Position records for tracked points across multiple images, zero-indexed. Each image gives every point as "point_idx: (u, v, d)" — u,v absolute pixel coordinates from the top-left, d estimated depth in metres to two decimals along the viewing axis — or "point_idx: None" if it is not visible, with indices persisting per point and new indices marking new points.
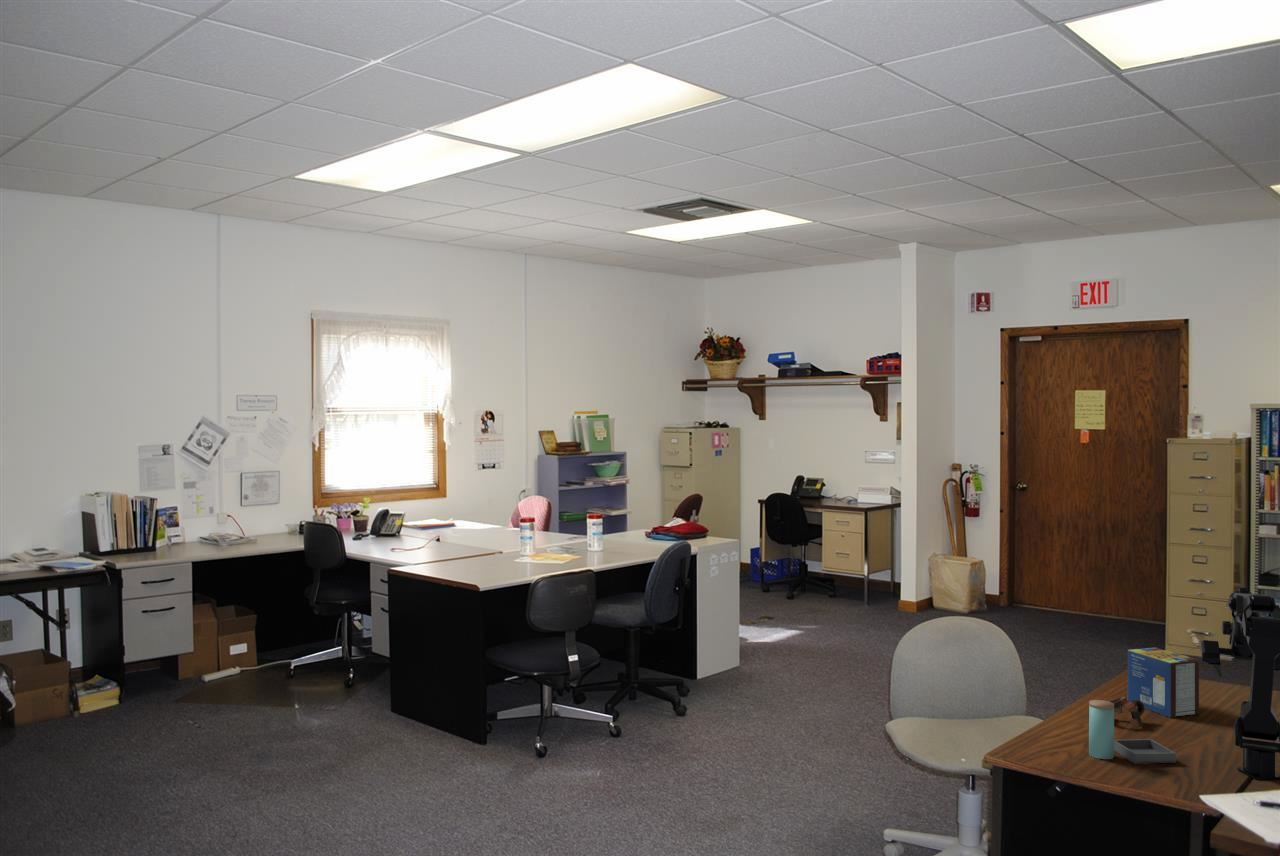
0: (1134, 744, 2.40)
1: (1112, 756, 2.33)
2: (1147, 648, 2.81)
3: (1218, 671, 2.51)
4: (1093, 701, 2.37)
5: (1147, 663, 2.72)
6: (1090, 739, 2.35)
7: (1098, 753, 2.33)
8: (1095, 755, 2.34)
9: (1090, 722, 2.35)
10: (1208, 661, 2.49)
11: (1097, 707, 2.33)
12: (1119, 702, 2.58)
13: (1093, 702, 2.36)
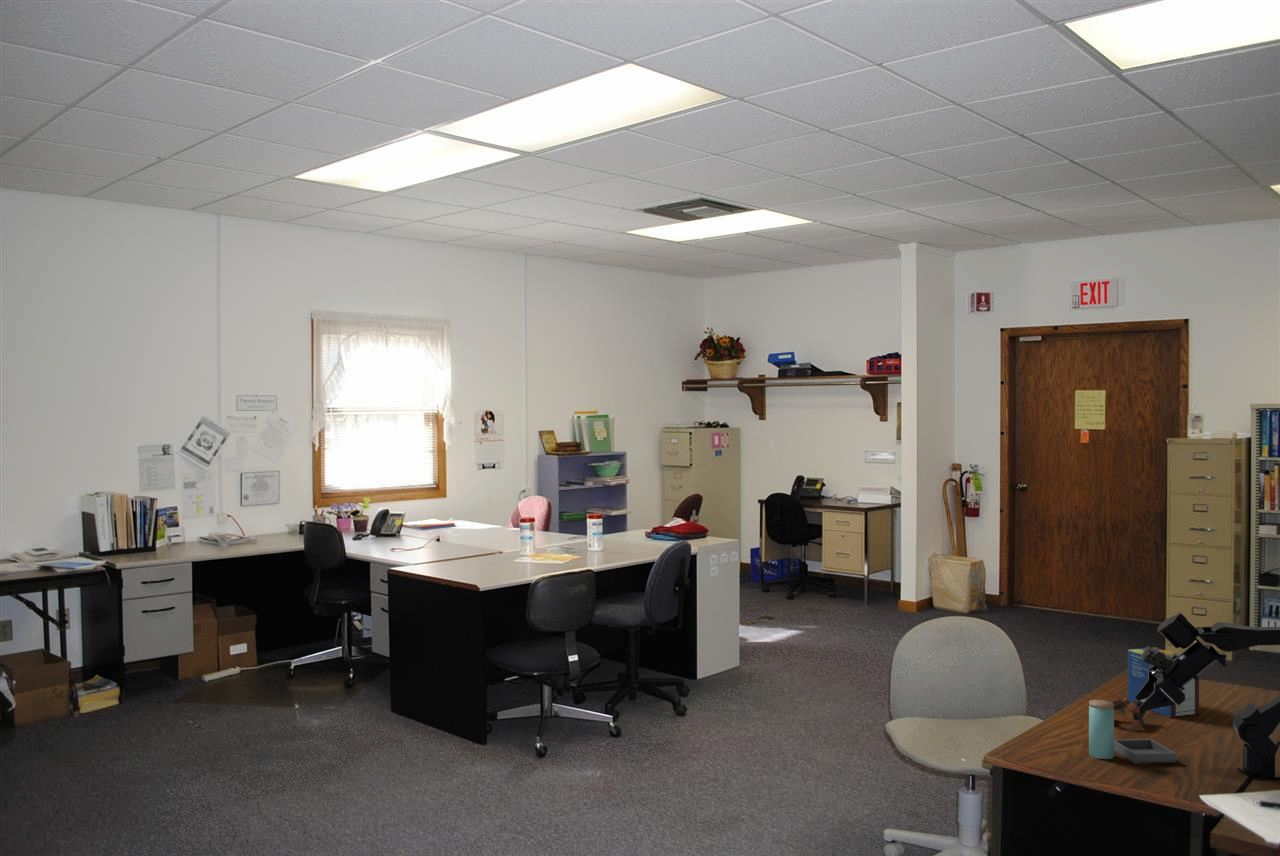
0: (1134, 744, 2.40)
1: (1112, 756, 2.33)
2: None
3: None
4: (1093, 701, 2.37)
5: (1147, 663, 2.72)
6: (1090, 739, 2.35)
7: (1098, 752, 2.33)
8: (1095, 755, 2.34)
9: (1090, 722, 2.35)
10: None
11: (1097, 707, 2.33)
12: (1121, 703, 2.57)
13: (1093, 702, 2.36)
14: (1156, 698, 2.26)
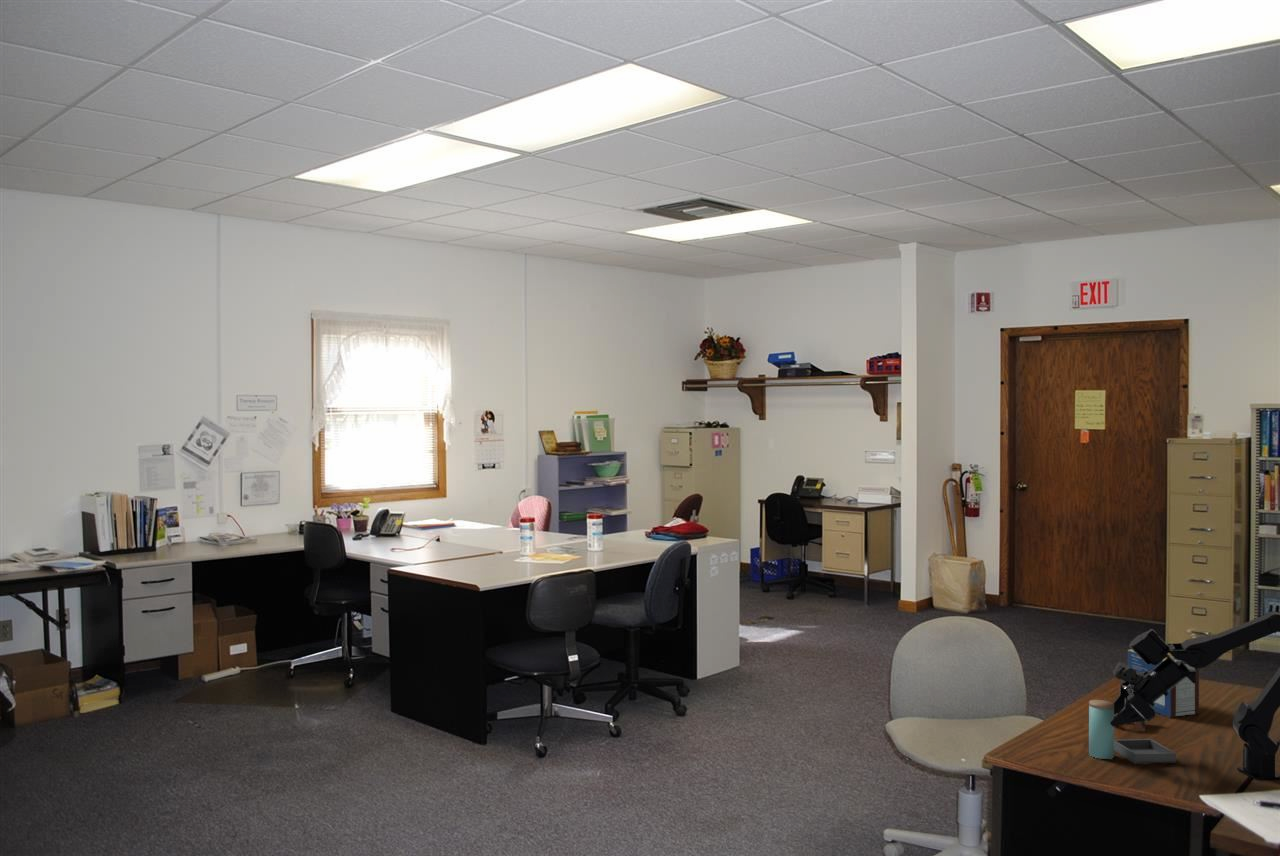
0: (1134, 744, 2.40)
1: (1112, 756, 2.33)
2: None
3: None
4: (1093, 701, 2.37)
5: None
6: (1090, 739, 2.35)
7: (1098, 752, 2.33)
8: (1095, 755, 2.34)
9: (1090, 722, 2.35)
10: None
11: (1097, 707, 2.34)
12: None
13: (1093, 702, 2.36)
14: (1127, 713, 2.28)
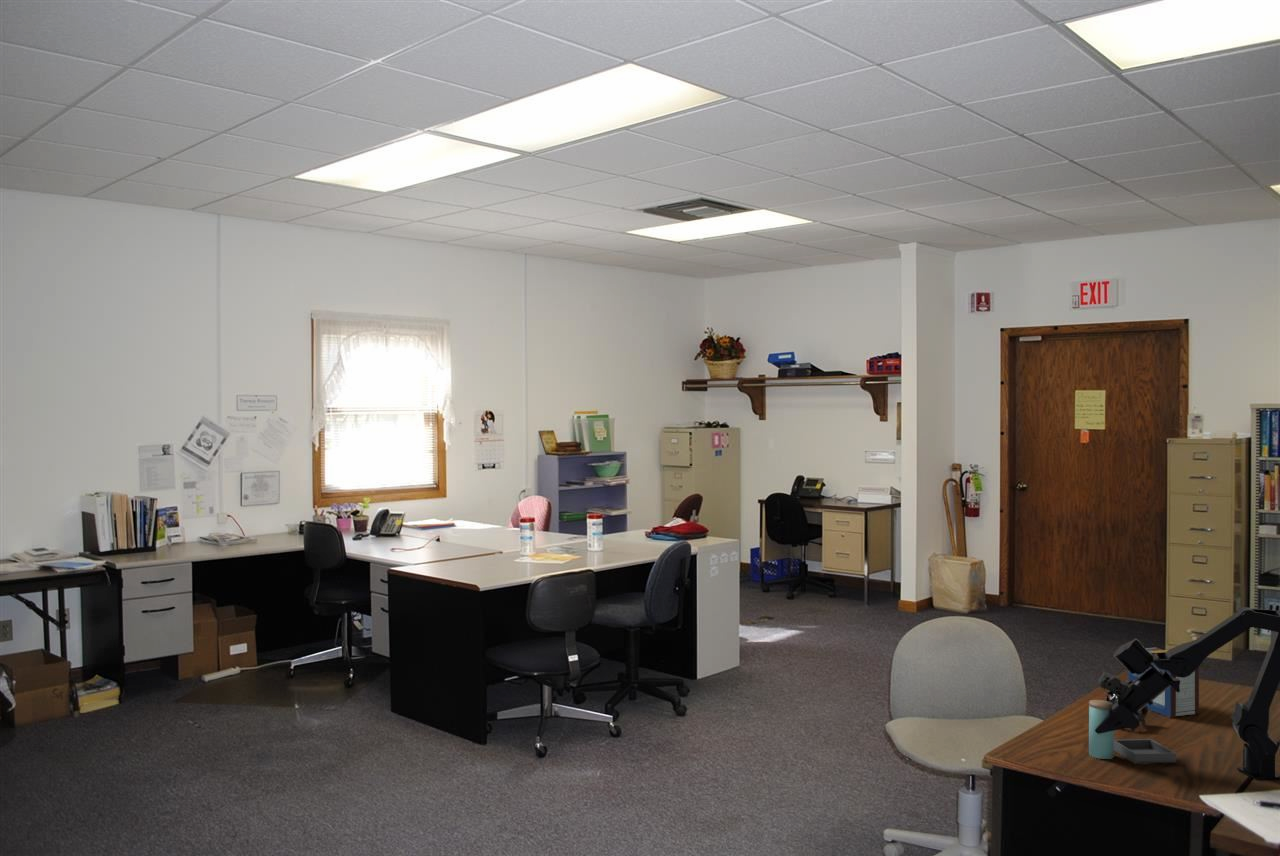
0: (1134, 744, 2.40)
1: (1112, 756, 2.33)
2: (1147, 648, 2.81)
3: None
4: (1093, 701, 2.37)
5: None
6: (1090, 739, 2.35)
7: (1098, 752, 2.33)
8: (1095, 755, 2.34)
9: (1090, 722, 2.35)
10: None
11: (1097, 707, 2.33)
12: None
13: (1093, 702, 2.36)
14: (1111, 721, 2.31)
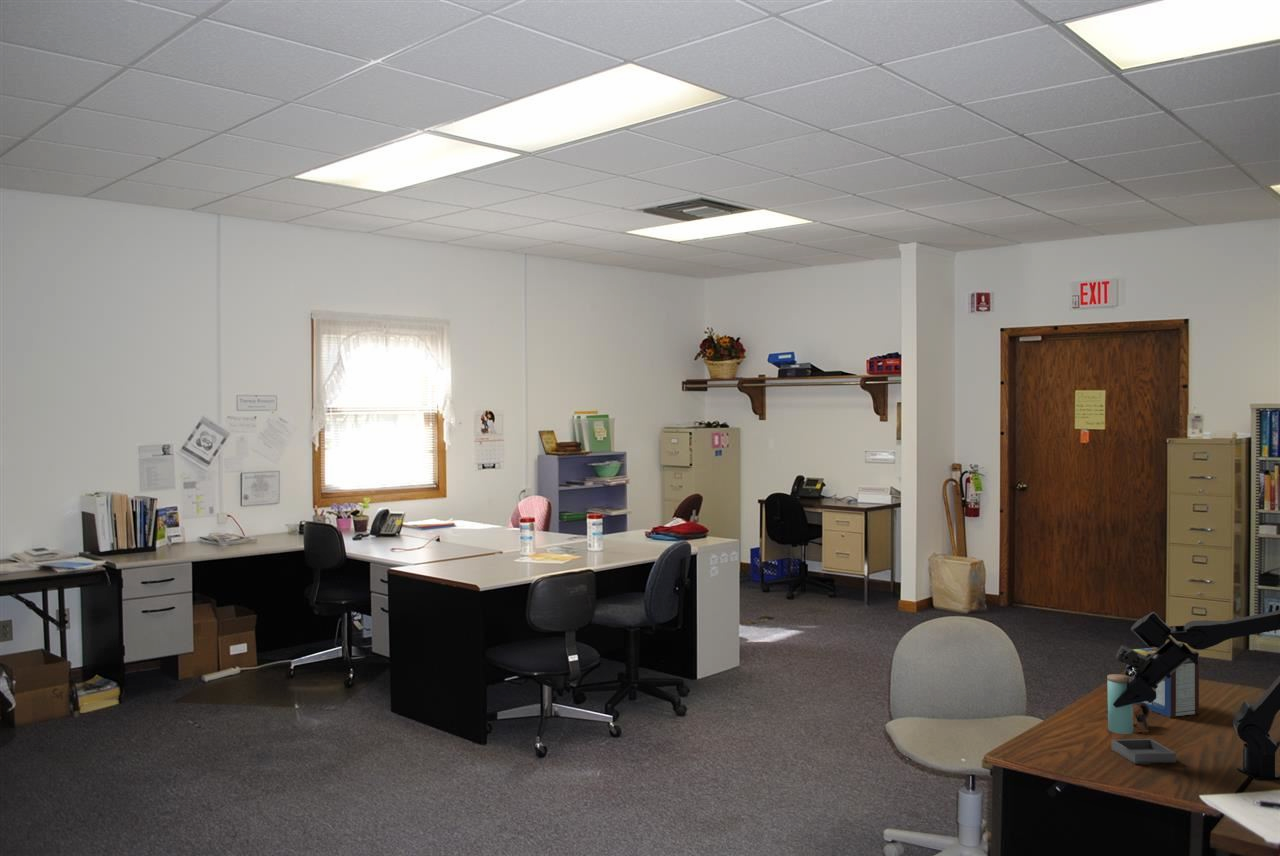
0: (1134, 744, 2.40)
1: (1131, 730, 2.33)
2: (1147, 648, 2.81)
3: None
4: (1111, 675, 2.37)
5: None
6: (1109, 713, 2.35)
7: (1116, 726, 2.33)
8: (1114, 729, 2.34)
9: (1108, 696, 2.35)
10: None
11: (1114, 681, 2.33)
12: None
13: (1111, 676, 2.36)
14: (1129, 694, 2.31)
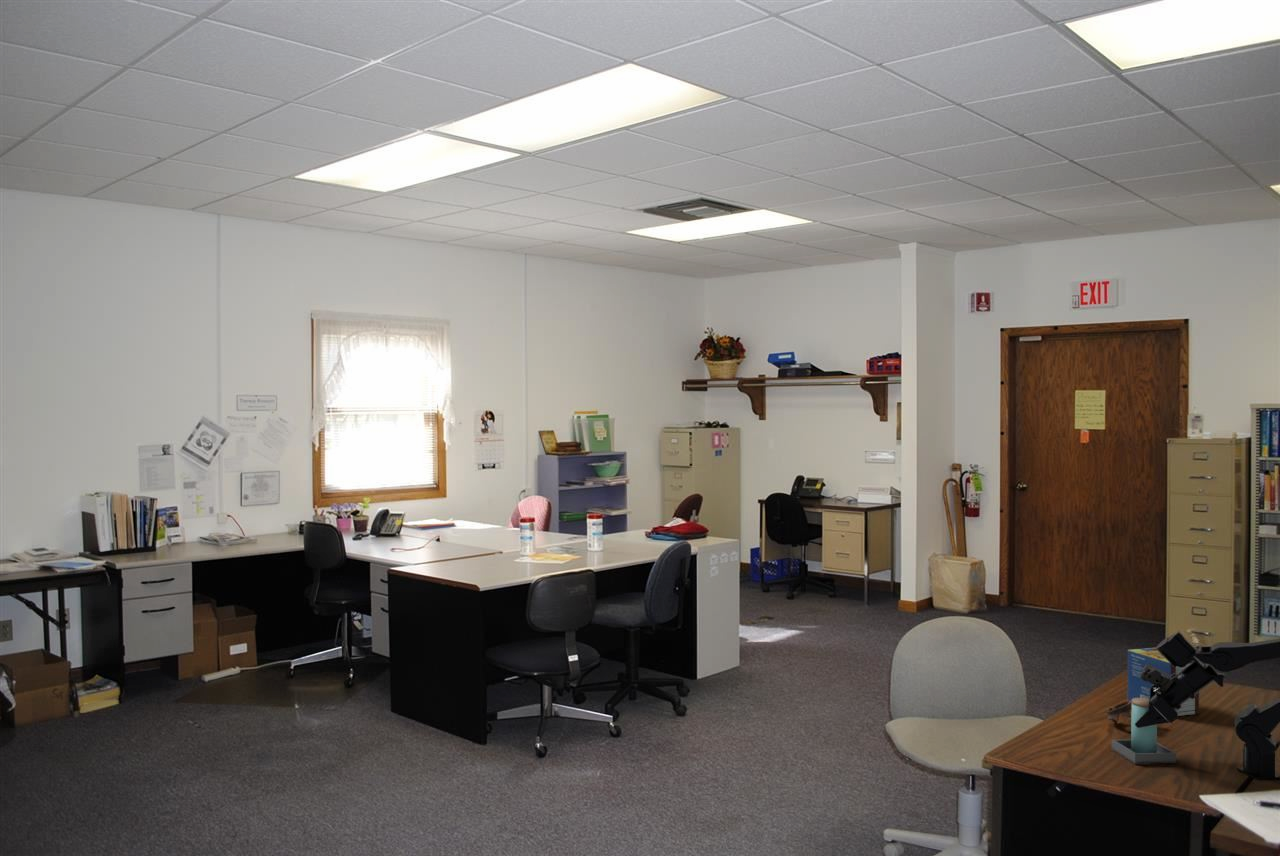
0: None
1: None
2: (1147, 648, 2.81)
3: None
4: (1136, 699, 2.36)
5: (1147, 663, 2.72)
6: (1132, 736, 2.35)
7: (1139, 750, 2.33)
8: None
9: (1132, 720, 2.35)
10: None
11: (1138, 705, 2.33)
12: (1127, 706, 2.55)
13: (1135, 700, 2.36)
14: (1151, 715, 2.29)
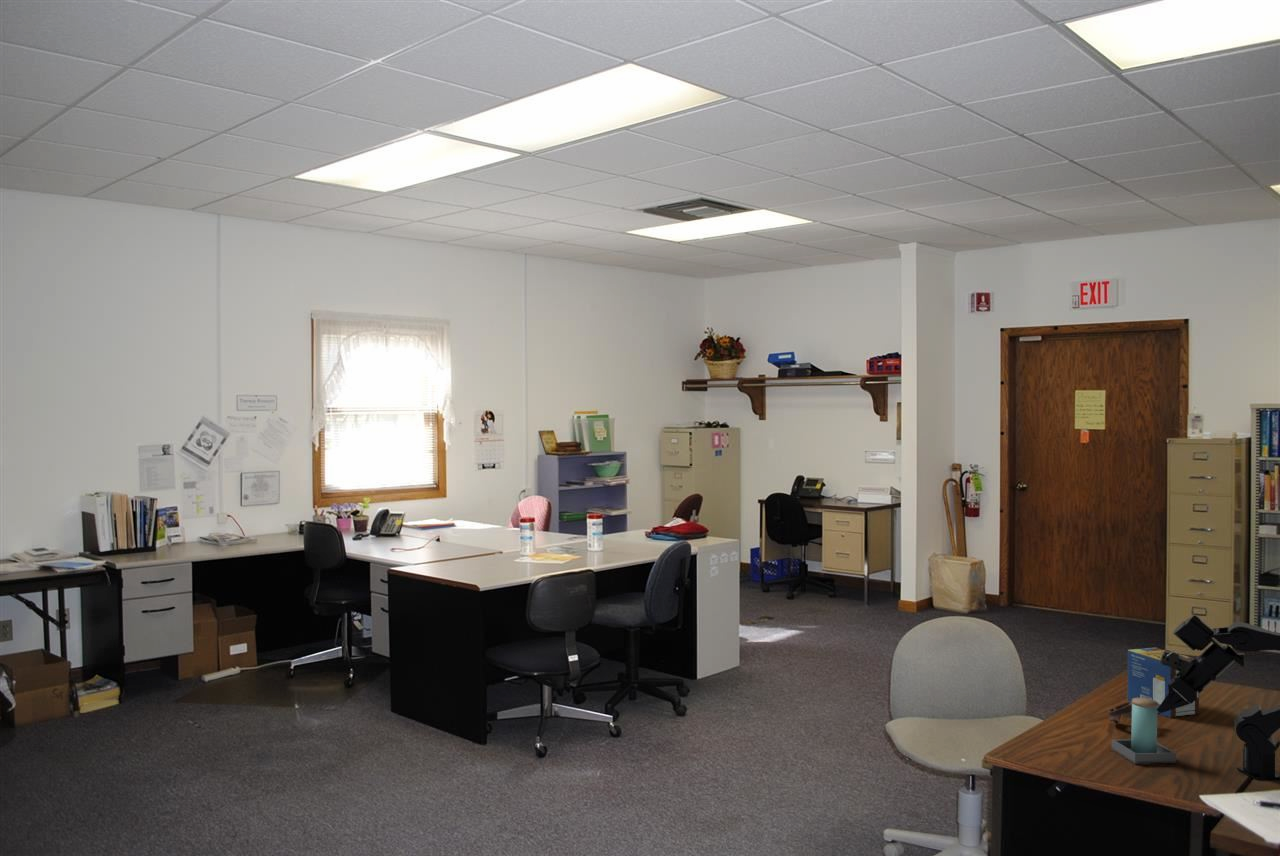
0: None
1: None
2: (1147, 648, 2.81)
3: (1173, 708, 2.27)
4: (1136, 699, 2.36)
5: (1147, 663, 2.72)
6: (1132, 736, 2.35)
7: (1139, 750, 2.33)
8: (1136, 752, 2.34)
9: (1132, 719, 2.35)
10: (1192, 702, 2.22)
11: (1139, 705, 2.33)
12: (1128, 707, 2.54)
13: (1136, 700, 2.36)
14: (1172, 698, 2.27)
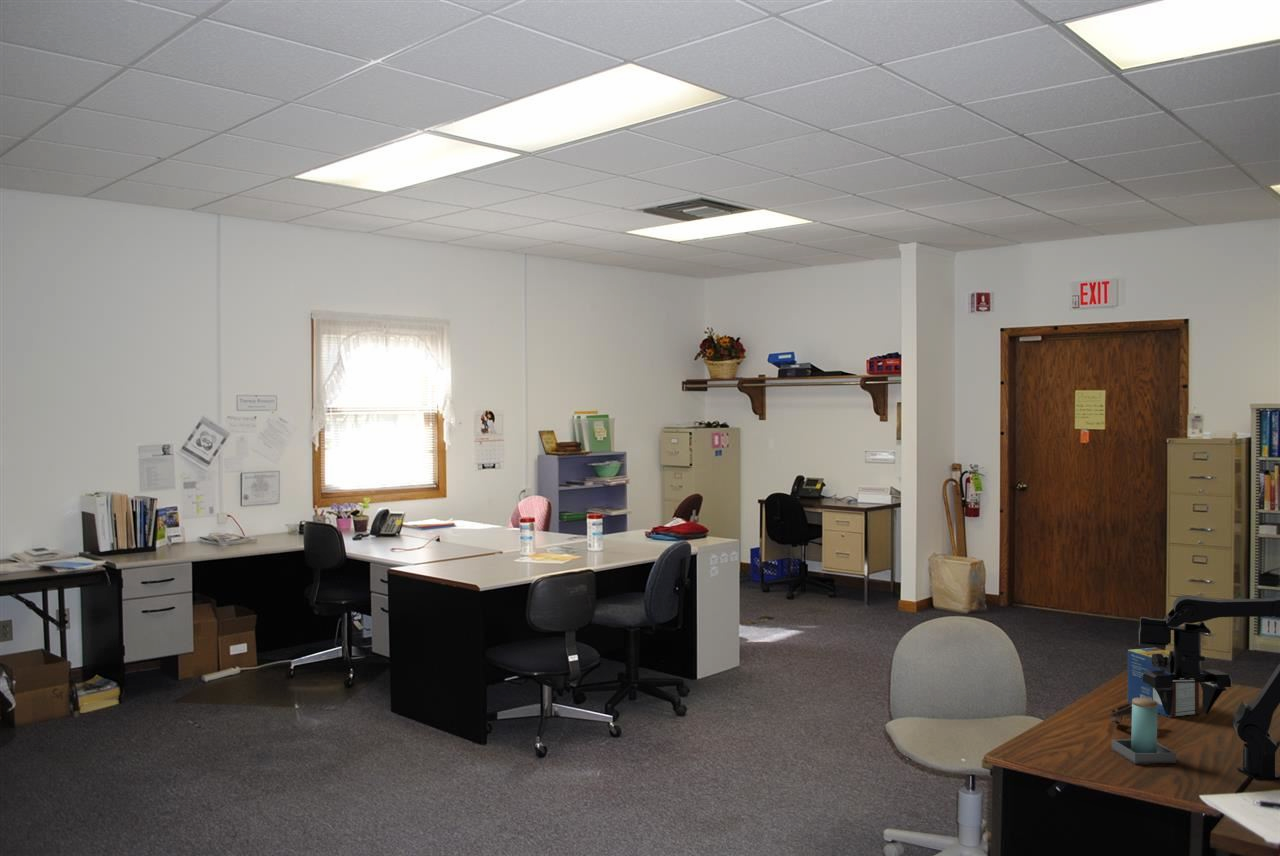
0: None
1: None
2: (1147, 648, 2.81)
3: (1169, 704, 2.27)
4: (1136, 699, 2.36)
5: (1147, 663, 2.72)
6: (1132, 736, 2.35)
7: (1139, 750, 2.33)
8: None
9: (1132, 720, 2.35)
10: (1162, 686, 2.26)
11: (1139, 705, 2.33)
12: (1130, 708, 2.53)
13: (1136, 700, 2.35)
14: (1163, 695, 2.29)
